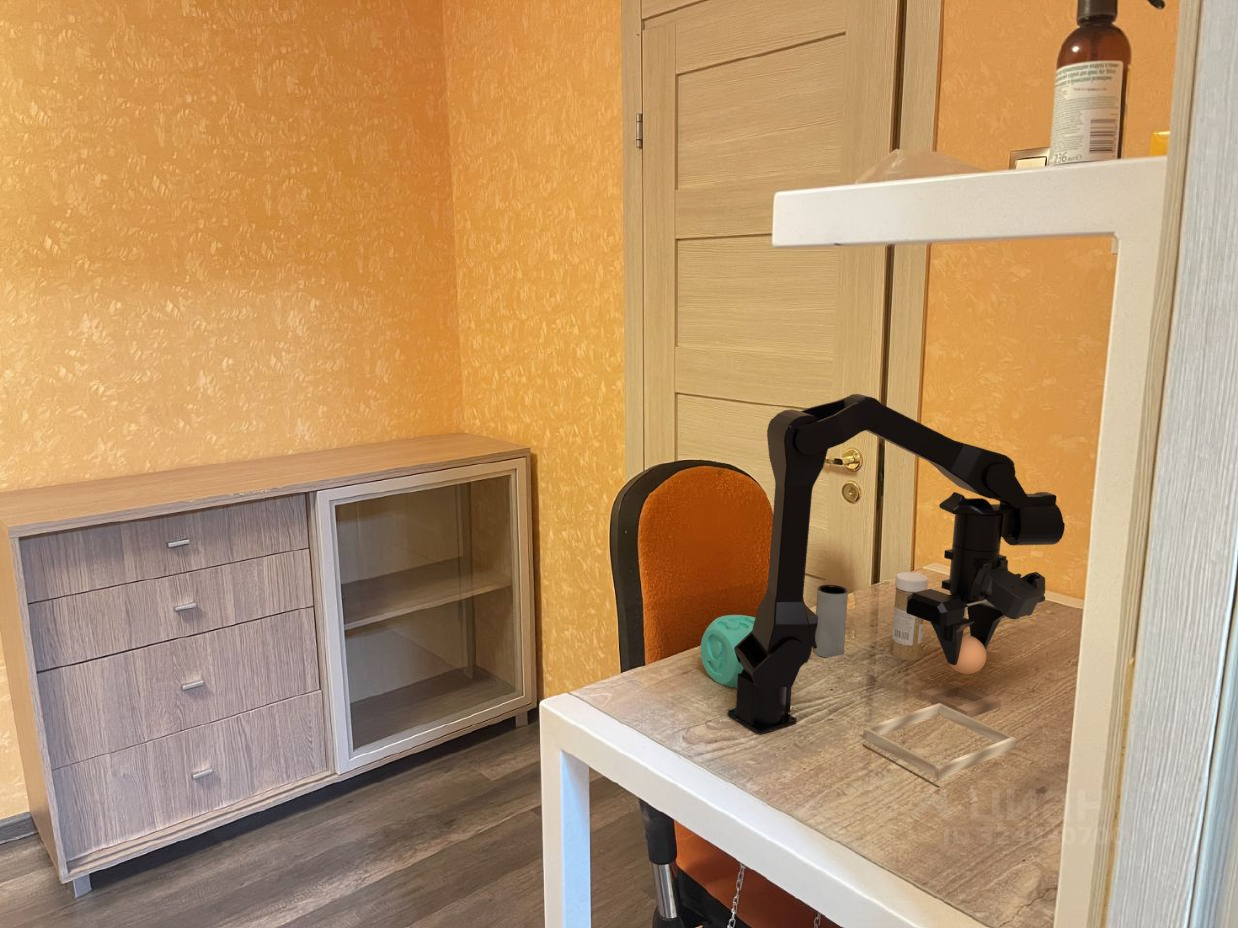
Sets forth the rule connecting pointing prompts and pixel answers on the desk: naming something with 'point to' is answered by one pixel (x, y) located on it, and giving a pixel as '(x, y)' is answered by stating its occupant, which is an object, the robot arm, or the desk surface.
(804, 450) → the robot arm
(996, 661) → the desk surface
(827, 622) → the grey hollow cylinder
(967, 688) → the brown flat square frame
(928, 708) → the tray
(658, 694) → the desk surface
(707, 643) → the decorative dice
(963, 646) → the ball
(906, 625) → the sprinkles bottle
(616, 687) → the desk surface
